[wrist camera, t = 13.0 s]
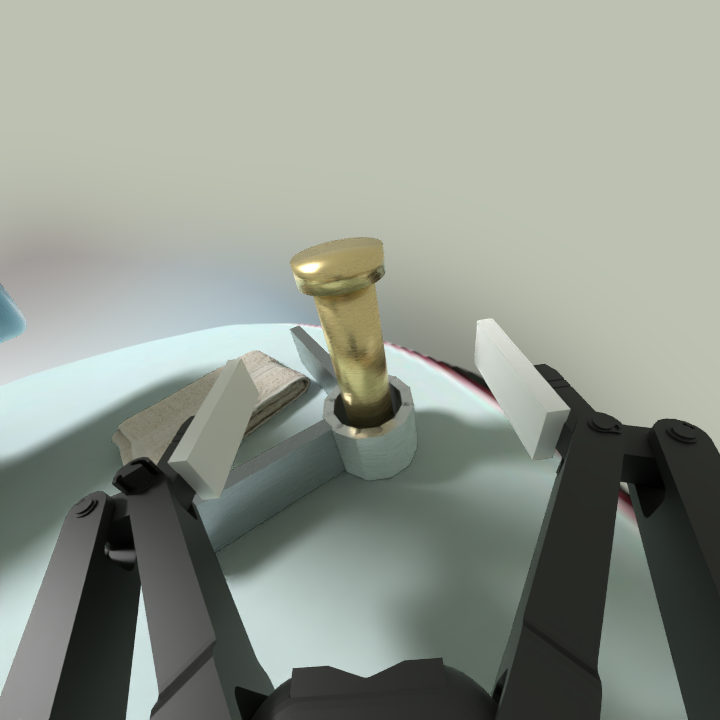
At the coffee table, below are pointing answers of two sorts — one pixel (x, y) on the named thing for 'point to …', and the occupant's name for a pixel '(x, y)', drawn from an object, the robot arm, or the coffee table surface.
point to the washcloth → (163, 419)
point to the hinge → (311, 455)
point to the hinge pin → (350, 321)
